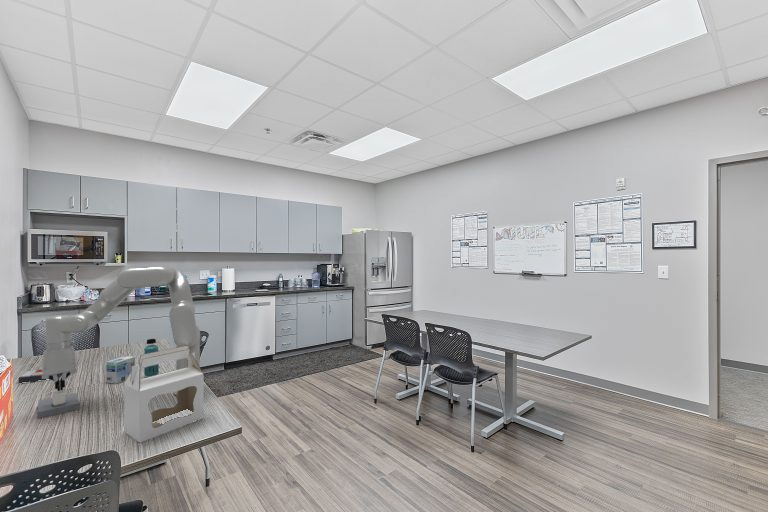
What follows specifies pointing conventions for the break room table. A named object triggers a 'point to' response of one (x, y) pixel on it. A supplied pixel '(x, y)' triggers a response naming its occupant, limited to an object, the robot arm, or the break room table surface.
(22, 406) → the break room table surface
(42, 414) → the socket plate
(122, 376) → the light bulb box
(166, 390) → the gable box
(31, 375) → the sushi tray
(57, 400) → the plug
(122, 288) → the robot arm
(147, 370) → the beverage bottle
